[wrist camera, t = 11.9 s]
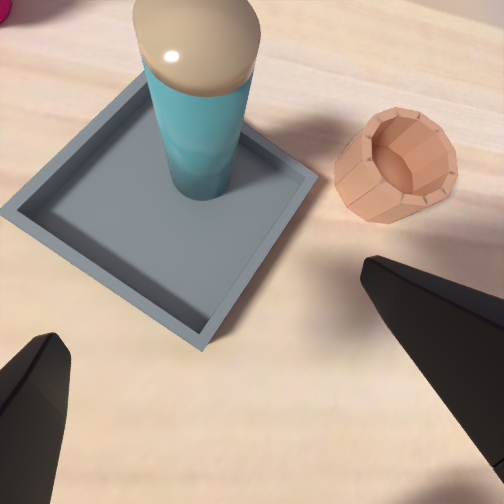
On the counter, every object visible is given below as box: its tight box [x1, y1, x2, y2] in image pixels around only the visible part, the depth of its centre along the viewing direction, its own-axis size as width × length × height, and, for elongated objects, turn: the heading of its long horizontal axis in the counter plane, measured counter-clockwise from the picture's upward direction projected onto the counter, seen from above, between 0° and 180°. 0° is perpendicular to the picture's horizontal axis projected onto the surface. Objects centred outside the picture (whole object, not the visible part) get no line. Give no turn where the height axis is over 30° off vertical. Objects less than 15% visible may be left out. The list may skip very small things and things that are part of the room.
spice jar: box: [133, 0, 261, 201], centre depth 16 cm, size 5×5×12 cm
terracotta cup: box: [335, 107, 458, 224], centre depth 24 cm, size 8×8×4 cm
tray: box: [0, 70, 319, 352], centre depth 21 cm, size 16×16×2 cm
